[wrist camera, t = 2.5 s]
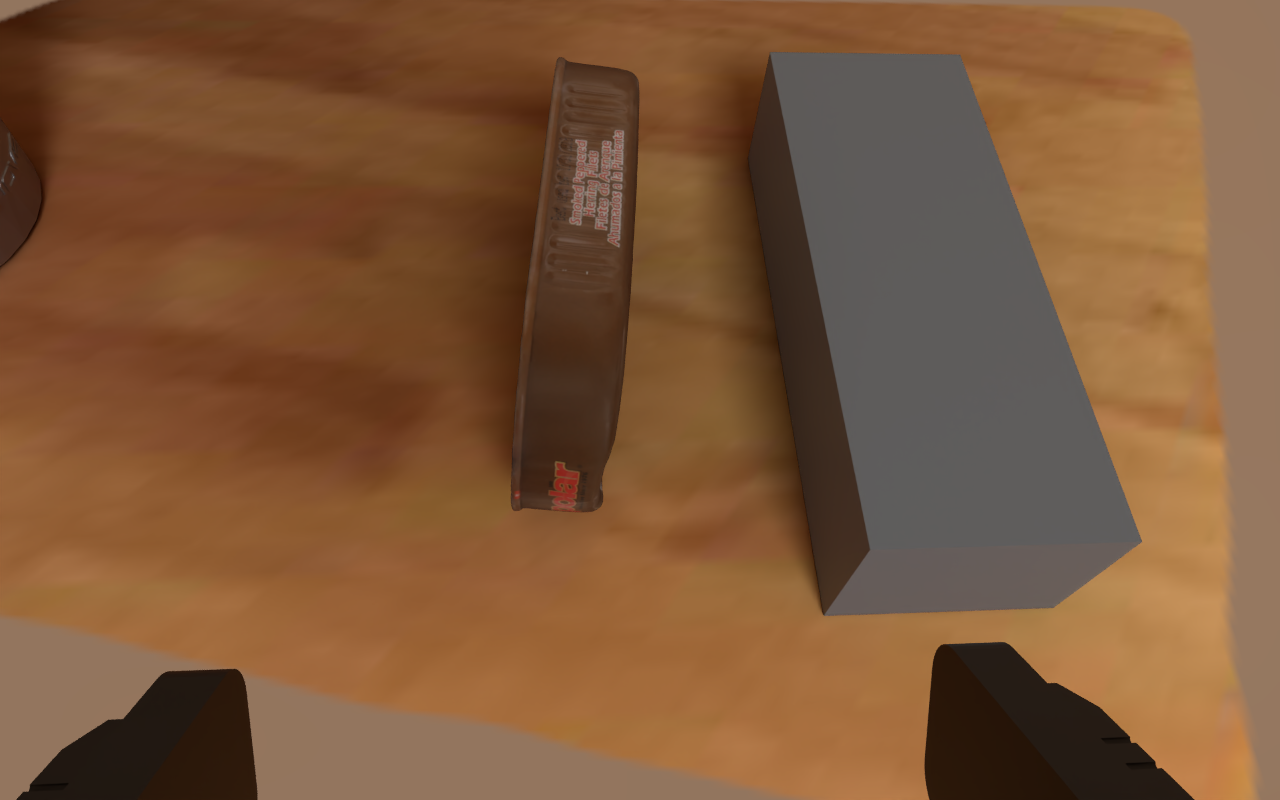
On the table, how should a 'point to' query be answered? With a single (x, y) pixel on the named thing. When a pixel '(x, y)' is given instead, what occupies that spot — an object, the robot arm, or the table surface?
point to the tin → (577, 291)
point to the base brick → (922, 348)
